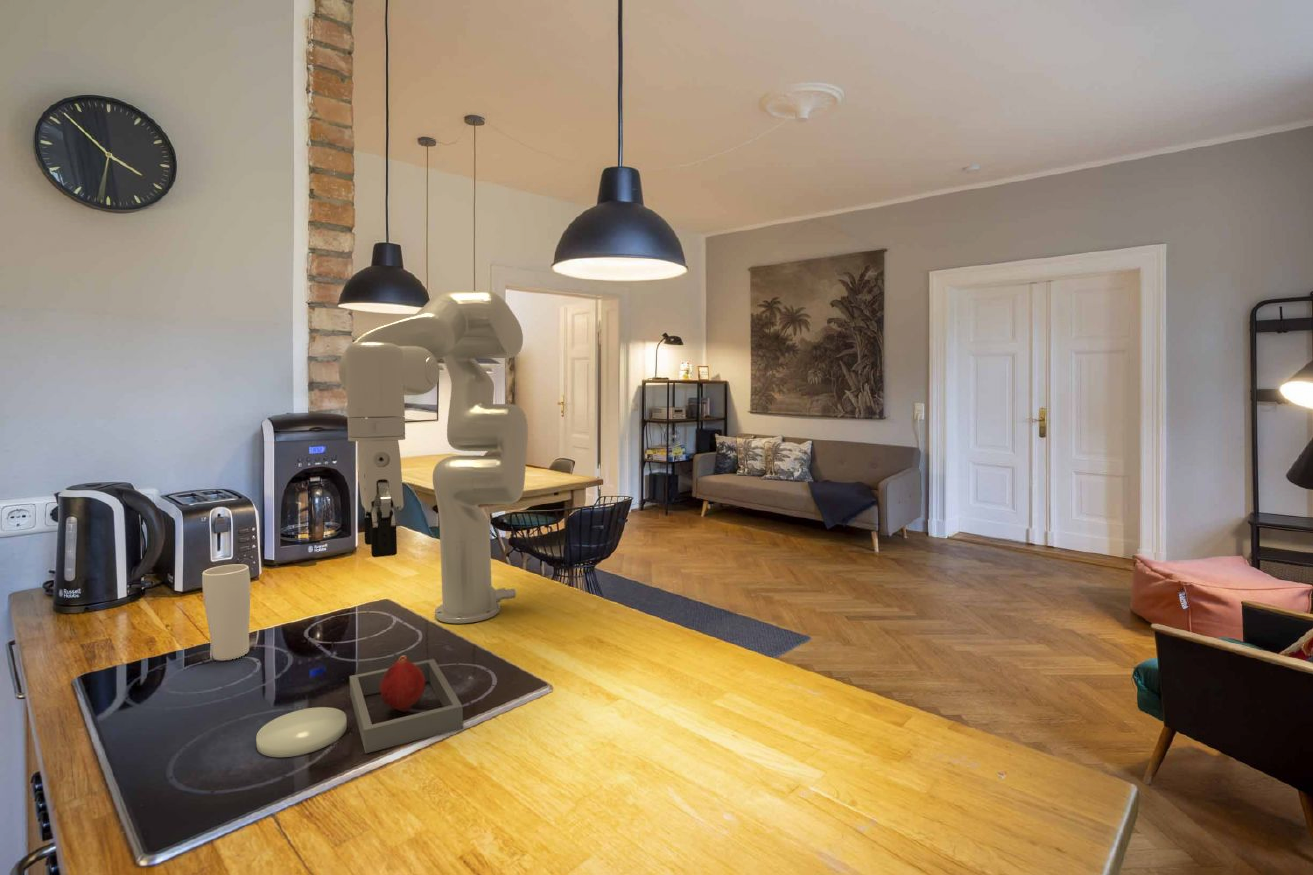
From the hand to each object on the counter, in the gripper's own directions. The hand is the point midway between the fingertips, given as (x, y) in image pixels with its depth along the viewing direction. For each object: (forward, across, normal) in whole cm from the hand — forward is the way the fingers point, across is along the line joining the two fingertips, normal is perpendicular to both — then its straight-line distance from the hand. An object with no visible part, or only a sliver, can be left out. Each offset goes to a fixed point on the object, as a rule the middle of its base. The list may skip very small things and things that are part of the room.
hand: (380, 549), depth 96 cm
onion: (+22, -5, -2) cm, 23 cm away
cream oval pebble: (+22, -5, +10) cm, 25 cm away
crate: (+22, -5, -2) cm, 23 cm away
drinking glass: (+22, +31, +21) cm, 43 cm away
